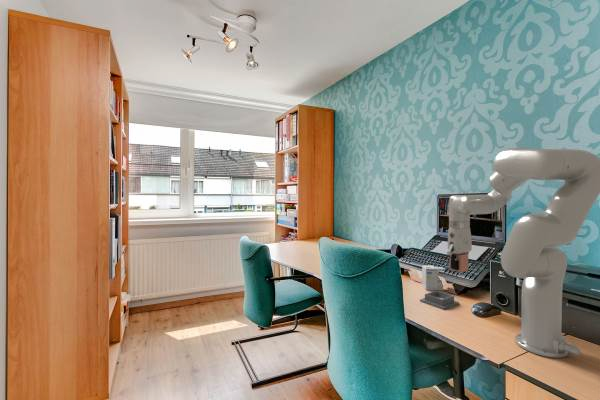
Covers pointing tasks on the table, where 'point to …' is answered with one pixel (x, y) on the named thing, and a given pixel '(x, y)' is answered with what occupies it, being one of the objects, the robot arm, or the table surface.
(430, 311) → the table surface
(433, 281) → the light bulb box
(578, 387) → the table surface
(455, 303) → the grey flanged tray
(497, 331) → the table surface
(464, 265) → the reddish brown block
